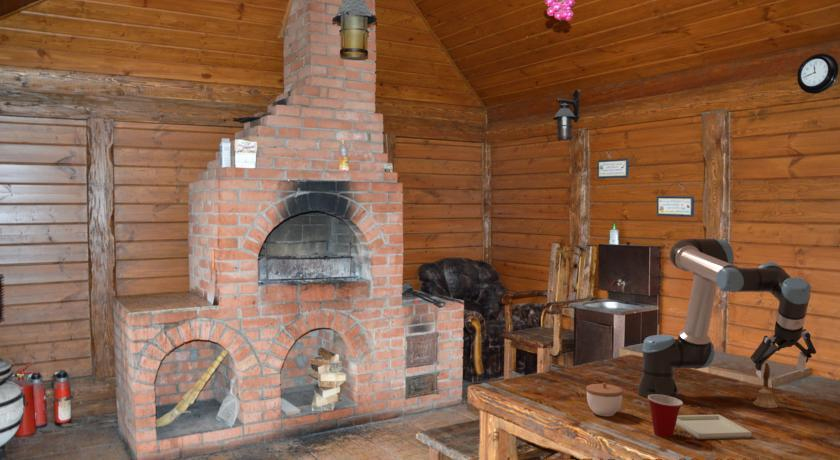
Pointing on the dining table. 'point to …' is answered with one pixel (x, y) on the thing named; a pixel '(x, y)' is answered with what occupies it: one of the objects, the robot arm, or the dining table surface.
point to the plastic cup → (664, 414)
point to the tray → (711, 427)
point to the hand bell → (765, 392)
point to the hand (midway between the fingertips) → (779, 372)
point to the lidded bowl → (604, 398)
